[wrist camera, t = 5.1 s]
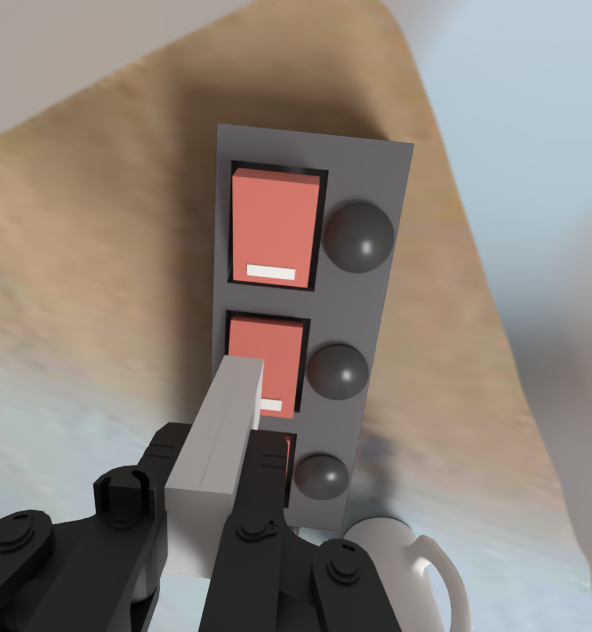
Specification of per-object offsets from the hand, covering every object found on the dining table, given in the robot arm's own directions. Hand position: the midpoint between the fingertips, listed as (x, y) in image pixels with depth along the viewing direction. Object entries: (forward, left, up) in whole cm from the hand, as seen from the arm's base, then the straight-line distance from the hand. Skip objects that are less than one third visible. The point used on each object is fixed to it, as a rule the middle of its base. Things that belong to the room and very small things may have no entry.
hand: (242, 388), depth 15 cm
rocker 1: (0, +5, -6) cm, 8 cm away
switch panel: (+2, -9, -11) cm, 14 cm away
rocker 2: (0, -2, -6) cm, 7 cm away
